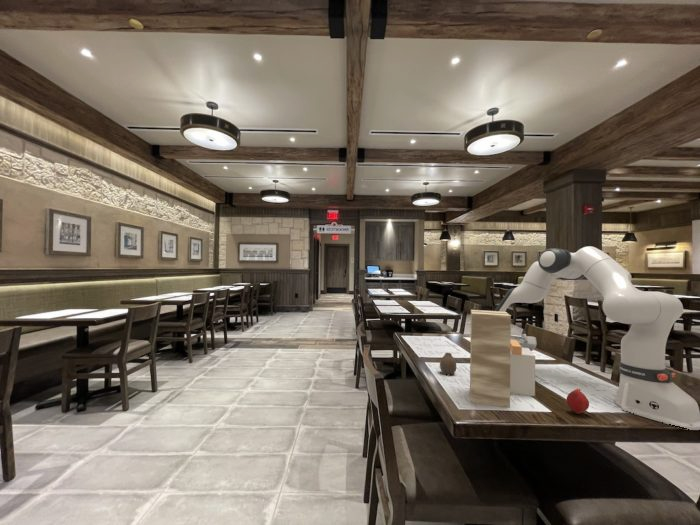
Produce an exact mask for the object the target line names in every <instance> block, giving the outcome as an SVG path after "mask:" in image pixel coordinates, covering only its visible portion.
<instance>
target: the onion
mask: <svg viewBox="0 0 700 525" xmlns="http://www.w3.org/2000/svg"><path fill="white" fill-rule="evenodd" d="M566 404H567V406H568V408H569V409H570V410H572V411H573V413H575V414H577V415H580V414H582V413H584V412H586V411H587V410H588V409H589V408H590V401H589V399H588V397H587V396H586V395H585V394H584V393H583V392H582V391H581V389H580V387H577V388H575V390H572V391H570V392H569V393H568V394H567V396H566Z"/></svg>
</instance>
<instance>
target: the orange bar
mask: <svg viewBox="0 0 700 525" xmlns="http://www.w3.org/2000/svg"><path fill="white" fill-rule="evenodd" d="M510 351H511V353H512V354H515V355H522V346H521V345H520V344H519V343H518V342H517V341H516V339H515V338H514V337H511V343H510Z"/></svg>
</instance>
